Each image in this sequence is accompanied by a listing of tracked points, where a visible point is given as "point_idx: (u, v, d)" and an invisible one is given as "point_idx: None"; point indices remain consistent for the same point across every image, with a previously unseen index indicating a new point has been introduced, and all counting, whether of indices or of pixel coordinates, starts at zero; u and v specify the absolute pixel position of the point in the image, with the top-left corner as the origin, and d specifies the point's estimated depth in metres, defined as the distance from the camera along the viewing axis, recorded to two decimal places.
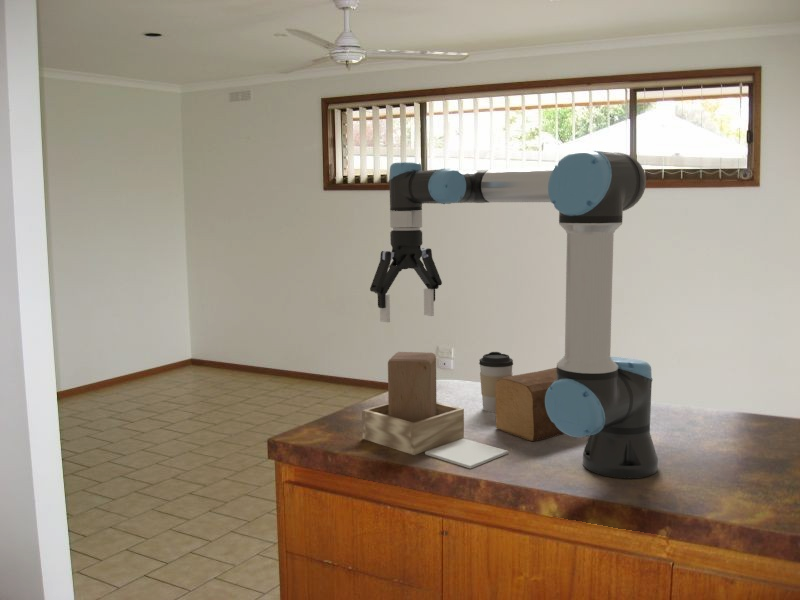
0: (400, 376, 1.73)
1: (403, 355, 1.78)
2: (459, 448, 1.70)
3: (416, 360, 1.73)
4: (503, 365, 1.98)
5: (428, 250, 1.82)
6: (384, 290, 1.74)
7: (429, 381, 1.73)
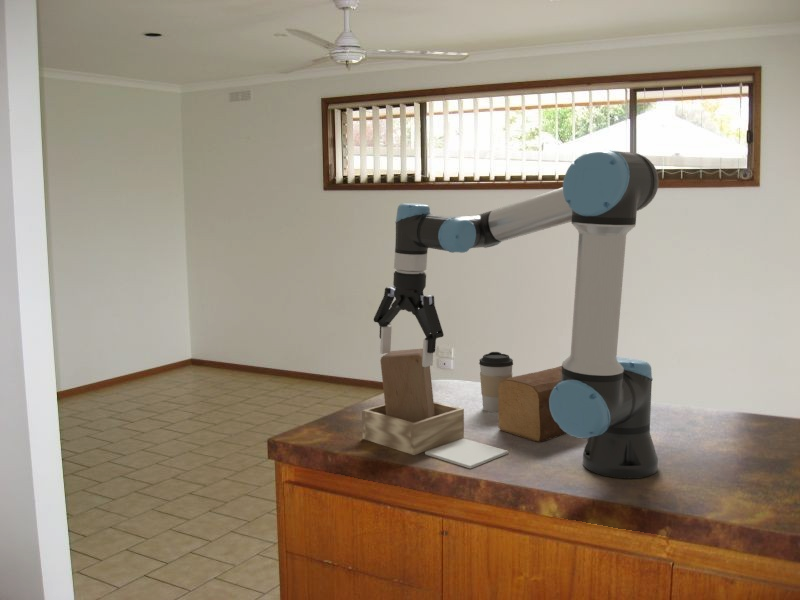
0: (394, 372, 1.75)
1: (395, 352, 1.79)
2: (459, 448, 1.70)
3: (408, 354, 1.74)
4: (503, 365, 1.98)
5: (423, 297, 1.71)
6: (380, 322, 1.82)
7: (422, 374, 1.74)
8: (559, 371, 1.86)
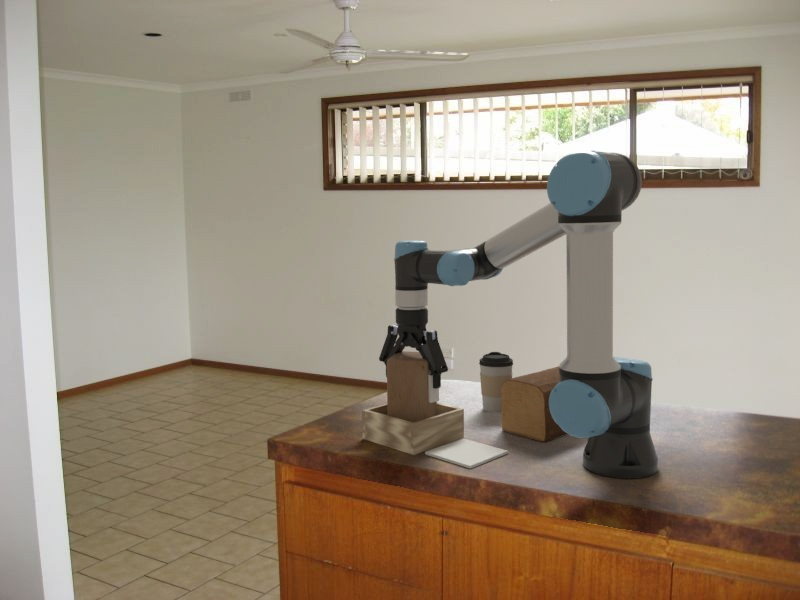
0: (399, 375, 1.74)
1: (403, 354, 1.78)
2: (459, 448, 1.70)
3: (414, 360, 1.73)
4: (503, 365, 1.98)
5: (426, 333, 1.72)
6: (385, 361, 1.82)
7: (427, 381, 1.73)
8: None
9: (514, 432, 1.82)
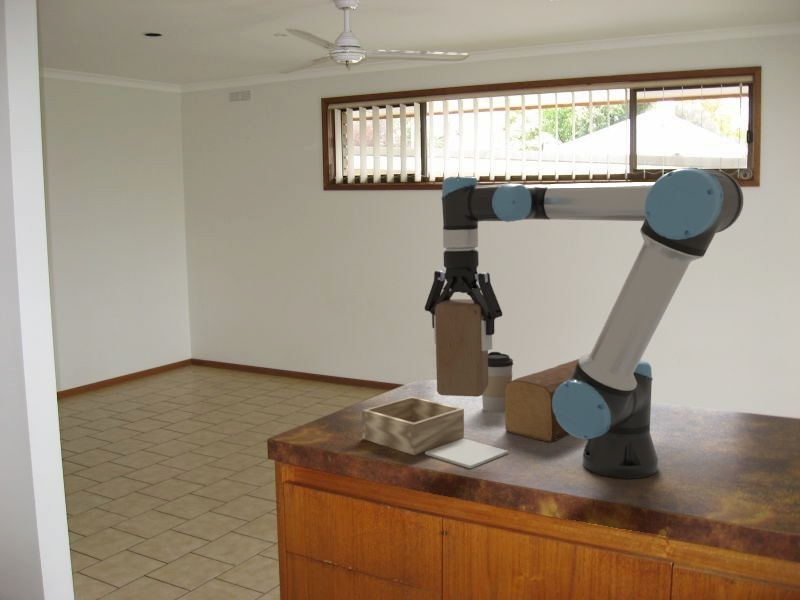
0: (449, 322, 1.61)
1: (451, 301, 1.65)
2: (459, 448, 1.70)
3: (466, 304, 1.60)
4: (503, 365, 1.98)
5: (478, 275, 1.59)
6: (432, 310, 1.70)
7: (480, 327, 1.60)
8: (562, 370, 1.87)
9: (519, 433, 1.81)
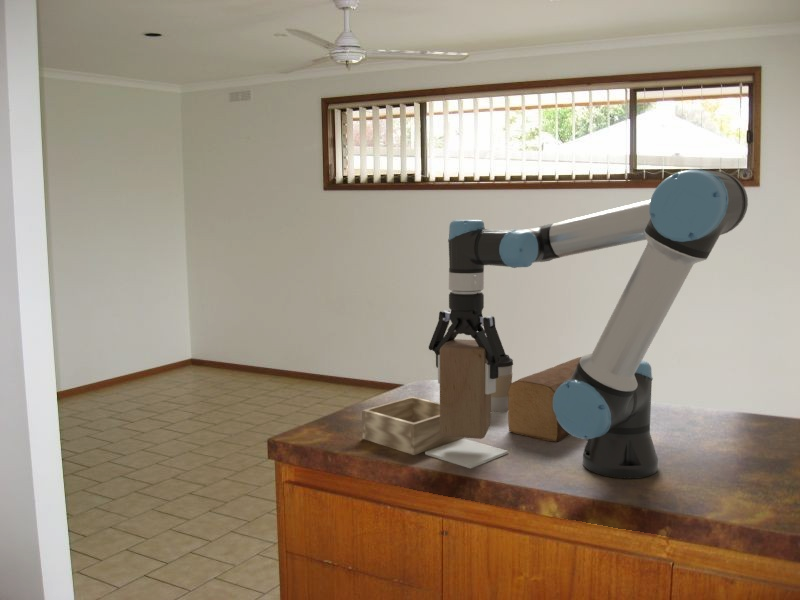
0: (453, 364, 1.61)
1: (456, 342, 1.66)
2: (459, 448, 1.70)
3: (470, 348, 1.60)
4: (503, 365, 1.98)
5: (484, 319, 1.59)
6: (436, 350, 1.70)
7: (484, 370, 1.60)
8: (564, 370, 1.87)
9: (523, 433, 1.81)
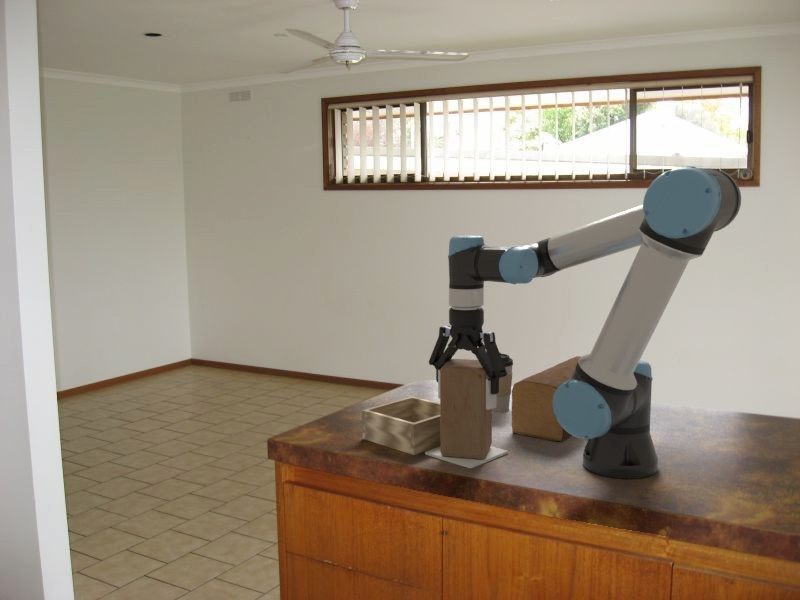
0: (453, 385, 1.62)
1: (456, 362, 1.66)
2: None
3: (470, 368, 1.61)
4: None
5: (484, 335, 1.60)
6: (436, 364, 1.70)
7: (484, 391, 1.61)
8: (565, 370, 1.88)
9: (527, 433, 1.80)
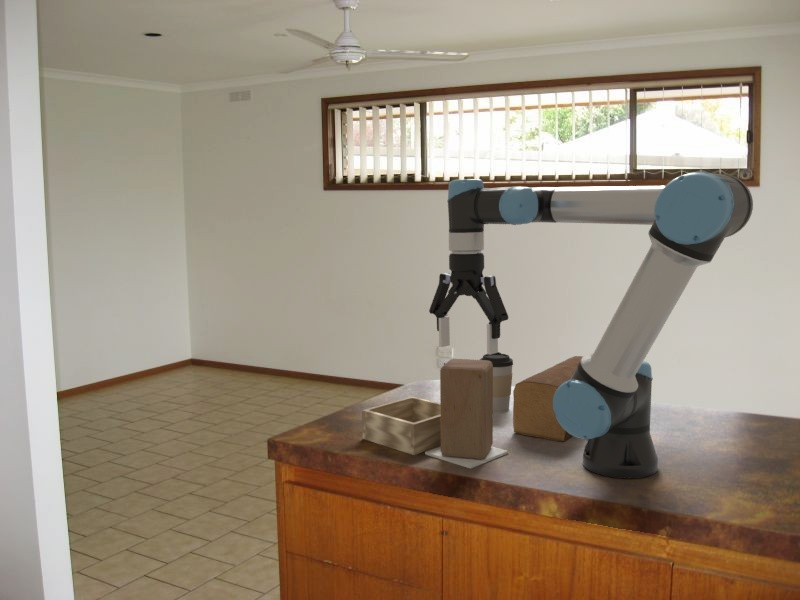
0: (453, 385, 1.62)
1: (457, 362, 1.66)
2: None
3: (470, 368, 1.61)
4: (503, 365, 1.98)
5: (484, 278, 1.58)
6: (436, 313, 1.69)
7: (484, 391, 1.61)
8: (565, 369, 1.88)
9: (529, 434, 1.80)
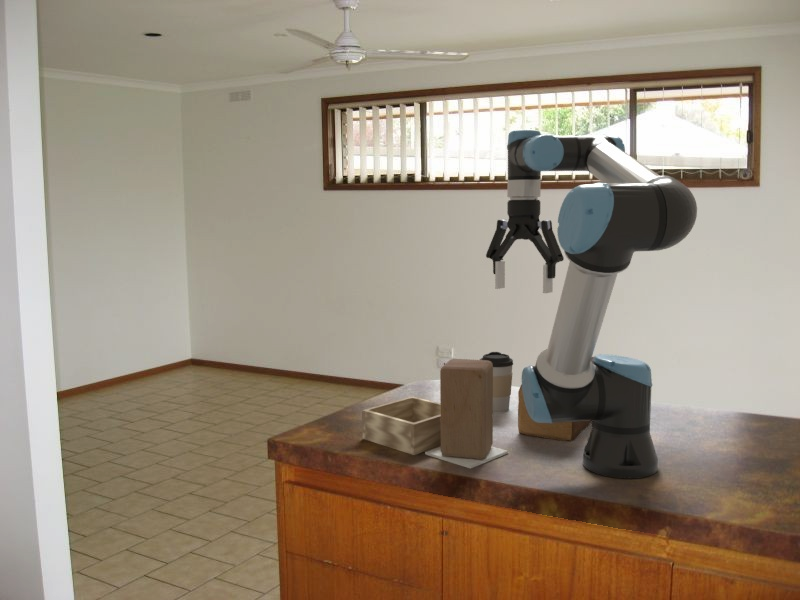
0: (453, 385, 1.62)
1: (457, 362, 1.66)
2: None
3: (470, 368, 1.61)
4: (503, 365, 1.98)
5: (542, 222, 1.70)
6: (493, 257, 1.81)
7: (484, 391, 1.61)
8: None
9: (534, 434, 1.80)
